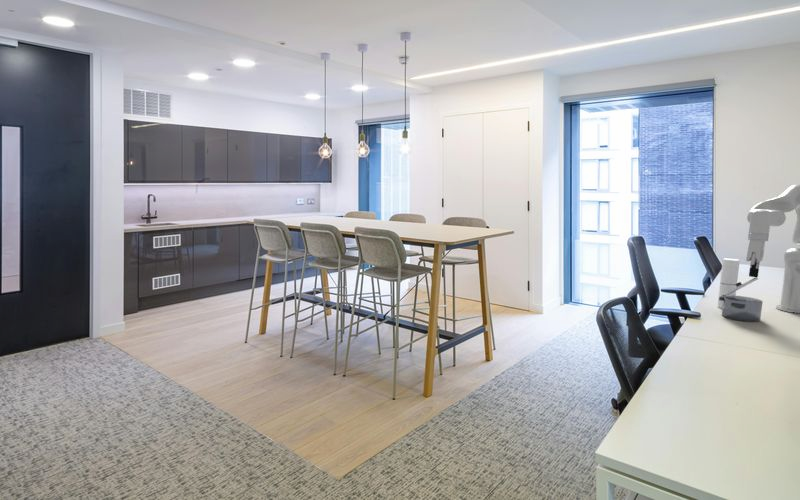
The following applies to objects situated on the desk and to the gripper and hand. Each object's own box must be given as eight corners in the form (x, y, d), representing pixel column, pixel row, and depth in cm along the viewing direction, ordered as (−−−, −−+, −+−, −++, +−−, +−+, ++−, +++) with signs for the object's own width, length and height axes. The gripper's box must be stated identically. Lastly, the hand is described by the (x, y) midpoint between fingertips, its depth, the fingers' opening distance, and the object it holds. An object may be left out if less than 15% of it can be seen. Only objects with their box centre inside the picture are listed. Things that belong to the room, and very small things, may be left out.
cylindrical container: (719, 308, 249) (725, 259, 246) (715, 305, 256) (720, 258, 253) (736, 309, 247) (741, 260, 244) (731, 306, 254) (736, 258, 251)
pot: (724, 310, 245) (726, 292, 244) (764, 317, 233) (766, 298, 232) (713, 317, 231) (715, 298, 230) (755, 325, 220) (757, 305, 219)
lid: (728, 293, 241) (725, 289, 242) (761, 277, 231) (757, 272, 232) (720, 298, 230) (716, 293, 231) (754, 281, 221) (750, 276, 221)
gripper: (751, 235, 233) (747, 273, 235) (744, 237, 222) (739, 277, 225) (771, 237, 227) (766, 276, 230) (764, 239, 217) (759, 279, 219)
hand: (753, 276), depth 227 cm, fingers closed
